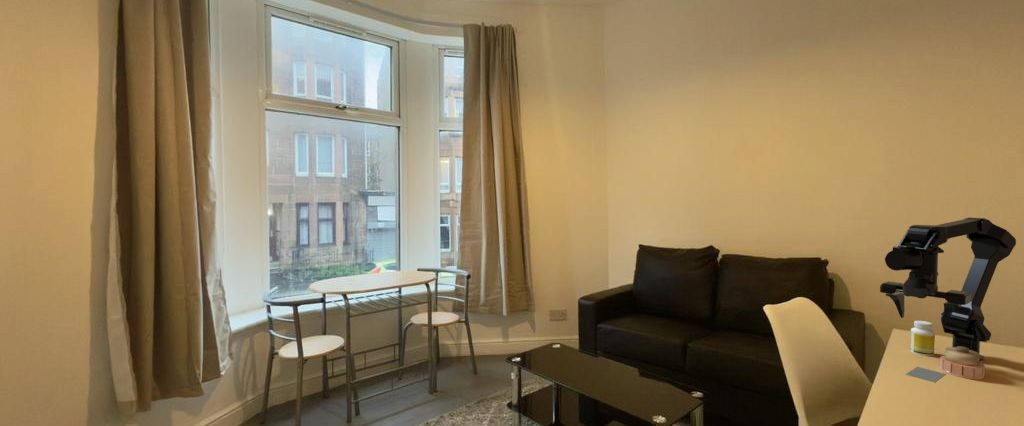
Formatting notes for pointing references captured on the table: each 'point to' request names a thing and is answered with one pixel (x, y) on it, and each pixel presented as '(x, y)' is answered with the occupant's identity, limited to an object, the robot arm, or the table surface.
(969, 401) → the table surface
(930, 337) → the supplement bottle
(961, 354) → the lid
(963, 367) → the pink notched ring
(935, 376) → the mat
